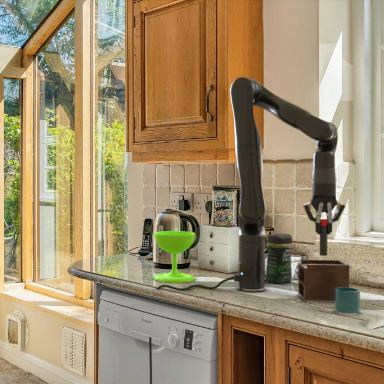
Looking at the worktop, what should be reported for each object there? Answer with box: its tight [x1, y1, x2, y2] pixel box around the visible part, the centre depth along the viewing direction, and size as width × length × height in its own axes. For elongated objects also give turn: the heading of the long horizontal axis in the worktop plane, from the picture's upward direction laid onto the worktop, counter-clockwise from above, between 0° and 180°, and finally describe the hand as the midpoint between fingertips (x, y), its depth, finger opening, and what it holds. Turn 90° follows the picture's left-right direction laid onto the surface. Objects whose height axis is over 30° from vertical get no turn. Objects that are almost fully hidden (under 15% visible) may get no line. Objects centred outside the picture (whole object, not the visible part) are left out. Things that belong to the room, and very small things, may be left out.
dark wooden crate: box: [297, 259, 350, 302], centre depth 196 cm, size 14×11×12 cm
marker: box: [319, 218, 328, 257], centre depth 196 cm, size 2×2×12 cm
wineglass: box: [153, 230, 196, 284], centre depth 232 cm, size 16×16×18 cm
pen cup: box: [334, 286, 361, 315], centre depth 177 cm, size 7×7×7 cm
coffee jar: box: [265, 232, 293, 284], centre depth 226 cm, size 10×8×19 cm
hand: (323, 234), depth 196 cm, fingers closed on marker, 2 cm apart
